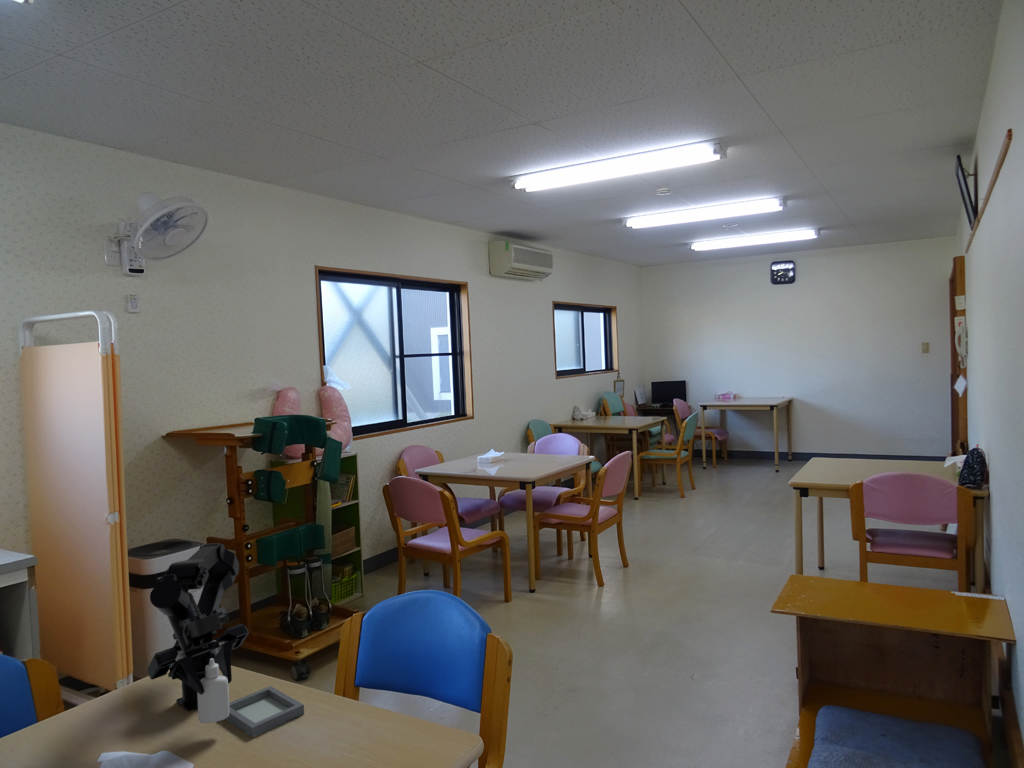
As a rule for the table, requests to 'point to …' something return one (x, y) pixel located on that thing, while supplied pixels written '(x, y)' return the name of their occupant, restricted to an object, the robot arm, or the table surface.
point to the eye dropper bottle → (213, 695)
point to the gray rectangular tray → (263, 711)
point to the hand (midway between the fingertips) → (216, 687)
